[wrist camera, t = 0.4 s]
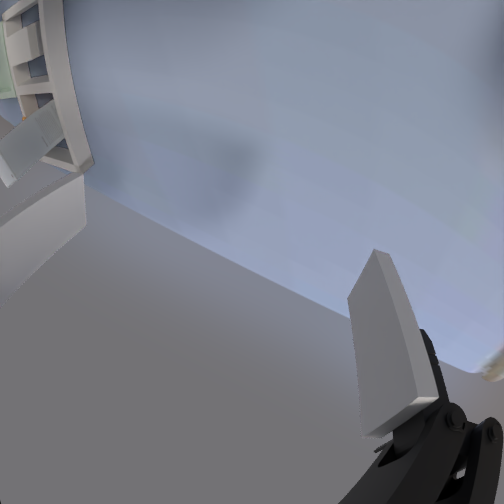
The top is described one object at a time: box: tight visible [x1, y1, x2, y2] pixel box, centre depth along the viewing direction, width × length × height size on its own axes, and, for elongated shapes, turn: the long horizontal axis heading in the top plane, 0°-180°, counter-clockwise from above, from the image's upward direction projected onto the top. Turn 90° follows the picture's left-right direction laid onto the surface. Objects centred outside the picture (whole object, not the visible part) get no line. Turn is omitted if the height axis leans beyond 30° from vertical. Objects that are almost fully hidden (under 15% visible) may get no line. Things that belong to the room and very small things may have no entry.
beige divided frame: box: [2, 0, 94, 174], centre depth 20 cm, size 26×12×3 cm, turn 174°
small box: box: [0, 99, 65, 188], centre depth 23 cm, size 8×6×10 cm
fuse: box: [5, 20, 44, 67], centre depth 15 cm, size 5×7×4 cm, turn 84°
